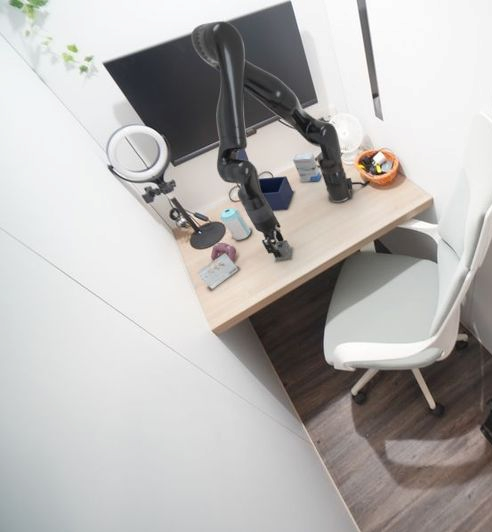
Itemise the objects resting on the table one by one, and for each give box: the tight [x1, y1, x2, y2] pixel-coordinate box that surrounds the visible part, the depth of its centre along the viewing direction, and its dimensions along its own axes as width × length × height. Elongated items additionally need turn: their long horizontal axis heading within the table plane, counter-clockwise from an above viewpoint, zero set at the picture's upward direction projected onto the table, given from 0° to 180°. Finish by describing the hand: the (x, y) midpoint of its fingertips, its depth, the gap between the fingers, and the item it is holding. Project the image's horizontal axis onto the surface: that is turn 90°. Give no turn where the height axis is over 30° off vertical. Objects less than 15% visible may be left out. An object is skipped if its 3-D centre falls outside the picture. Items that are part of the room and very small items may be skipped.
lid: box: [237, 149, 250, 188], centre depth 132 cm, size 15×12×5 cm
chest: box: [259, 175, 294, 212], centre depth 141 cm, size 15×12×9 cm
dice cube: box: [273, 239, 292, 262], centre depth 119 cm, size 5×5×5 cm
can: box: [220, 207, 251, 241], centre depth 127 cm, size 7×7×12 cm
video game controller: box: [210, 242, 237, 263], centre depth 122 cm, size 10×5×7 cm, turn 71°
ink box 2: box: [292, 153, 321, 183], centre depth 149 cm, size 8×5×12 cm, turn 84°
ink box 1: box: [196, 252, 239, 290], centre depth 113 cm, size 2×11×10 cm, turn 140°
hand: (279, 248), depth 118 cm, fingers open, 8 cm apart
